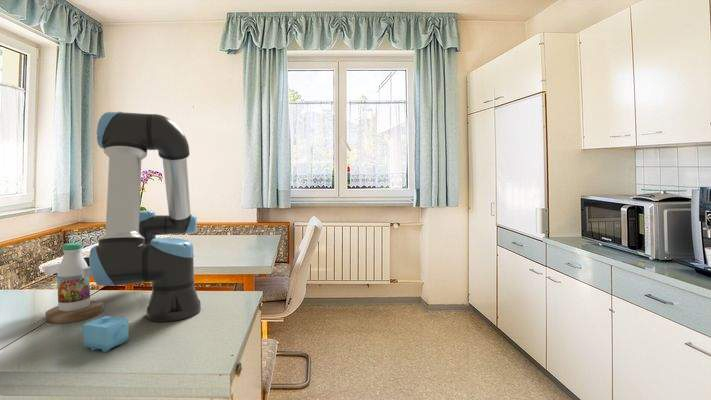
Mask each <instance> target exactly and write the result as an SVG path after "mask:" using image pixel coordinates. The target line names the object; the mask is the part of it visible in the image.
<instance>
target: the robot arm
mask: <svg viewBox="0 0 711 400" xmlns="http://www.w3.org/2000/svg"><path fill="white" fill-rule="evenodd" d="M98 119H99V120H98V122H97V126H96V127H97V128H96V142H97V145H98V146H99V148H101V149H103V153H104V154H105V155H106V156H107V157H108V170H107V171H108V173H107V174H108V176H107V195H106V197H107V198H106V212H105V213H106V214H105V215H106V216H105V233H104V235H102V236H101V237H100V238H98V244H97V245H95V246H92V247H91V248H90V250H89V256H85V257H83V258H84V260H85V261H86V263H87V265H88V267H87V268H83V269H82V278H86V277H89V278H90V277H92V279H93V281H94V282H95V283H96V284H97V285H99V286H102V287H103V286H104V287H107V286H115V287H116V286H123V285H130V284H131V285H132V284H144V283H152V288H151V289H152V292H151V295H150V298H149V302H148V306H147V307H146V310H145V312H146V319H147V320H149V321H151V322H155V323H156V322H159V323H167V322H176V321H180V320H185V319H189V318H190V317H191V318H192V317H193V316H196V315H197V314H198V313H200V312H201V309H202V307H201V305H202V303H201V300H200V299H199V295H198V293H197V290H196V288H195V266H194V265H195V261H194V258H195V253H194V245H193V243H192V241H189V240H187V239H184V238H176V237H156V236H163V235H164V236H165V235H166V236H167V235H169V236H170V235H188V234H194V233H196V232H197V230H198V229H197V228H198V227H197V224H198V223H197V221H198V220H197V215H196V214H192V213H191V202H190V189H189V187H190V185H189V176H188V174H189V171H188V162H187V161H188V158H189V157H190V145H189V142H188V139H187V138H186V136H185V133H184V132H183V130H182V129H181V128H180V126H178V125H177V124H176V123H175V122H174V121H173V120H172V119H170V118H168V117H166V116H165V115H162V114H157V113H153V114H152V113H137V112H124V111H106V112H104V113H103V114H102V115H101V116H100V118H98ZM148 151H157V152H158V157H159V158H161V160H162V164H163V165H162V166H163V174H164V184H165V192H166V193H165V194H166V200H167V201H166V202H167V209H168V211H167V212H168V215H163V214H162V215H161V214H159V215H158V214H156V212H155V211H154V210H141V187H142V186H141V184H142V161H143V160H144V159H146V158H147V156H148ZM60 264H61V262H58V263H52V264H49V265H44V266H43V267H44V276H49V275H54V274H57V273H58V268H59V266H60Z"/></svg>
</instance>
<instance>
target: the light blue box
mask: <svg viewBox="0 0 711 400" xmlns="http://www.w3.org/2000/svg"><path fill="white" fill-rule="evenodd" d="M129 324H130V323H129V318H127V317H121V316H112V315H104V316H101V317H99V318H96V319H94V320H91V321H89V322H87V323H84V324H82V338H83V341H82V343H83V348H90V351H95V350H101V352H102V353H107V352H109V351H110V350H111V349H112V348H115V347H116V346H121V345H123V343H125V342H126V341H128V340H129V334H130V333H129V332H130V331H129Z"/></svg>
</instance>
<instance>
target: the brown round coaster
mask: <svg viewBox="0 0 711 400" xmlns="http://www.w3.org/2000/svg"><path fill="white" fill-rule="evenodd" d="M102 312H104V302H103V301H100V300H91V299H90V305H89V306H88V307H86V308H84V309H81V310H76V311H69V312H62V311H60V310H59V307H58V305H57V306H54V307H52V308H50V309H48V310H46V312H45V313H44V314H45V315H44V319H45V322H46V323H48V324H57V325H58V324H68V323H75V322H80V321H84V320H89V319H91V318H93V317H96V316H99V315H100V314H102Z"/></svg>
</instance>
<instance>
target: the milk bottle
mask: <svg viewBox="0 0 711 400" xmlns="http://www.w3.org/2000/svg"><path fill="white" fill-rule="evenodd" d="M82 247H83V244H82V242H70V243H69V242H68V243H64V244H62V252H63V257H62V259H61V261H60V263H61V264H60V266H59V268H58V273H56V274H57V279H56V280H57V303H58V305H57V306H58V307H59V310H60V311H62V312H69V311H76V310H81V309H84V308H86V307H88V306H89V305H90V300H91V288H90V286H91V285H90V276H89V277H86V278H82V269H83V268H87V267H88V265H87V263H86V261H85V260H84V258H85V257H83V254H82V250H83V249H82Z"/></svg>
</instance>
